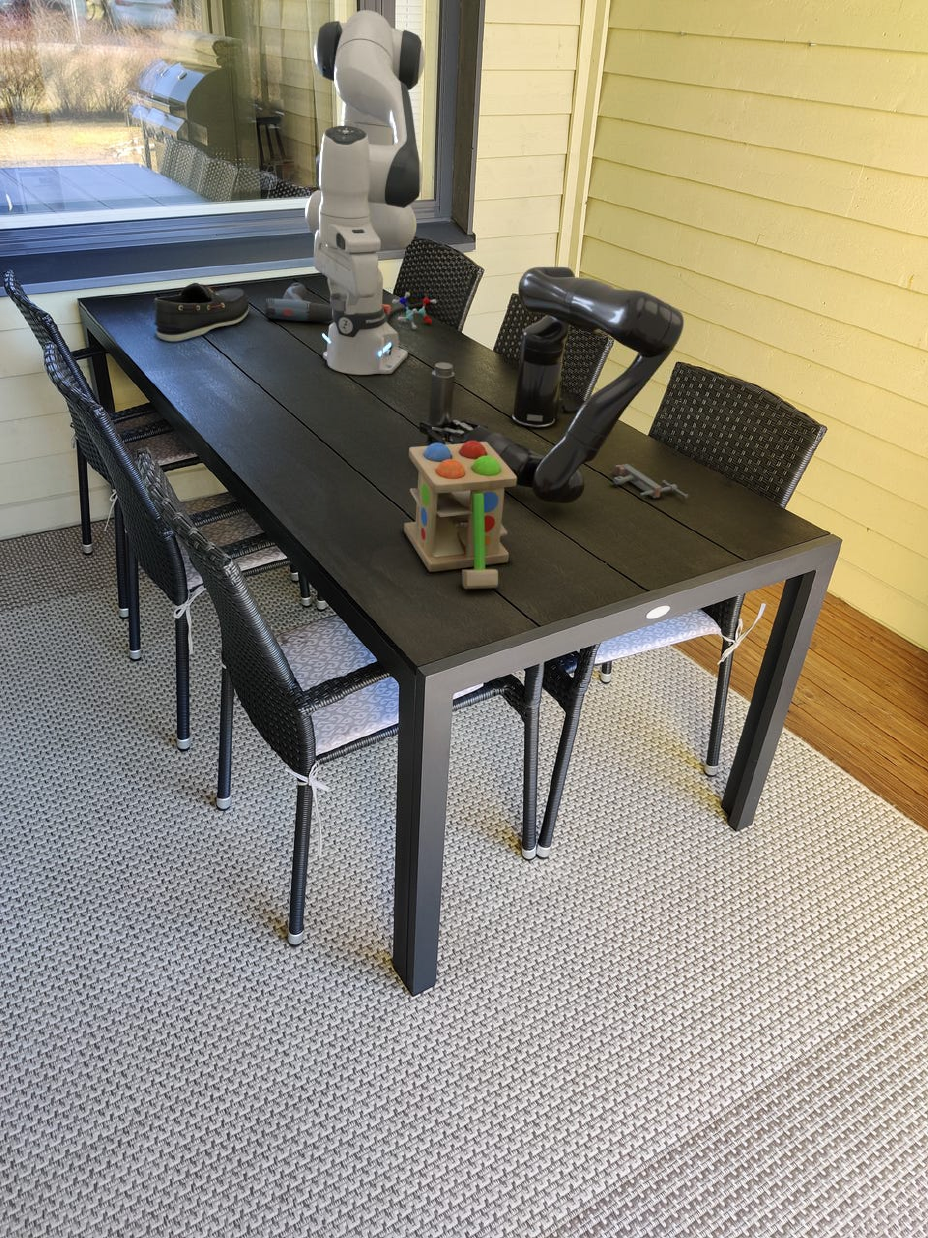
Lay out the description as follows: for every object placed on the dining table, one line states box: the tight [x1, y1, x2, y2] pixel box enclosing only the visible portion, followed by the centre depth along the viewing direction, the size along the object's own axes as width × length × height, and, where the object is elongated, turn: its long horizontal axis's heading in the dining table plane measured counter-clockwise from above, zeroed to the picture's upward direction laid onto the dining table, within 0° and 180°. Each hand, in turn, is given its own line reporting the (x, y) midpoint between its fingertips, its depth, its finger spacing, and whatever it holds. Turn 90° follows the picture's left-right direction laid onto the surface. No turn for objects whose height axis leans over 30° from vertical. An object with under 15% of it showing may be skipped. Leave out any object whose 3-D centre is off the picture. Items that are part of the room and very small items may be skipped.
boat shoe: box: [153, 282, 250, 342], centre depth 250 cm, size 13×33×10 cm, turn 147°
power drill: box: [264, 282, 333, 322], centre depth 265 cm, size 5×19×20 cm
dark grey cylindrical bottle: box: [426, 361, 456, 446], centre depth 194 cm, size 4×4×19 cm
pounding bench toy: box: [403, 441, 517, 590], centre depth 161 cm, size 23×14×18 cm, turn 20°
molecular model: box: [391, 291, 437, 331], centre depth 264 cm, size 12×10×10 cm
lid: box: [329, 294, 347, 311], centre depth 180 cm, size 5×5×2 cm
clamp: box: [612, 463, 689, 500], centre depth 193 cm, size 15×2×10 cm
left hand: (343, 308), depth 181 cm, fingers closed on lid, 5 cm apart
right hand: (429, 423), depth 197 cm, fingers closed on dark grey cylindrical bottle, 4 cm apart
